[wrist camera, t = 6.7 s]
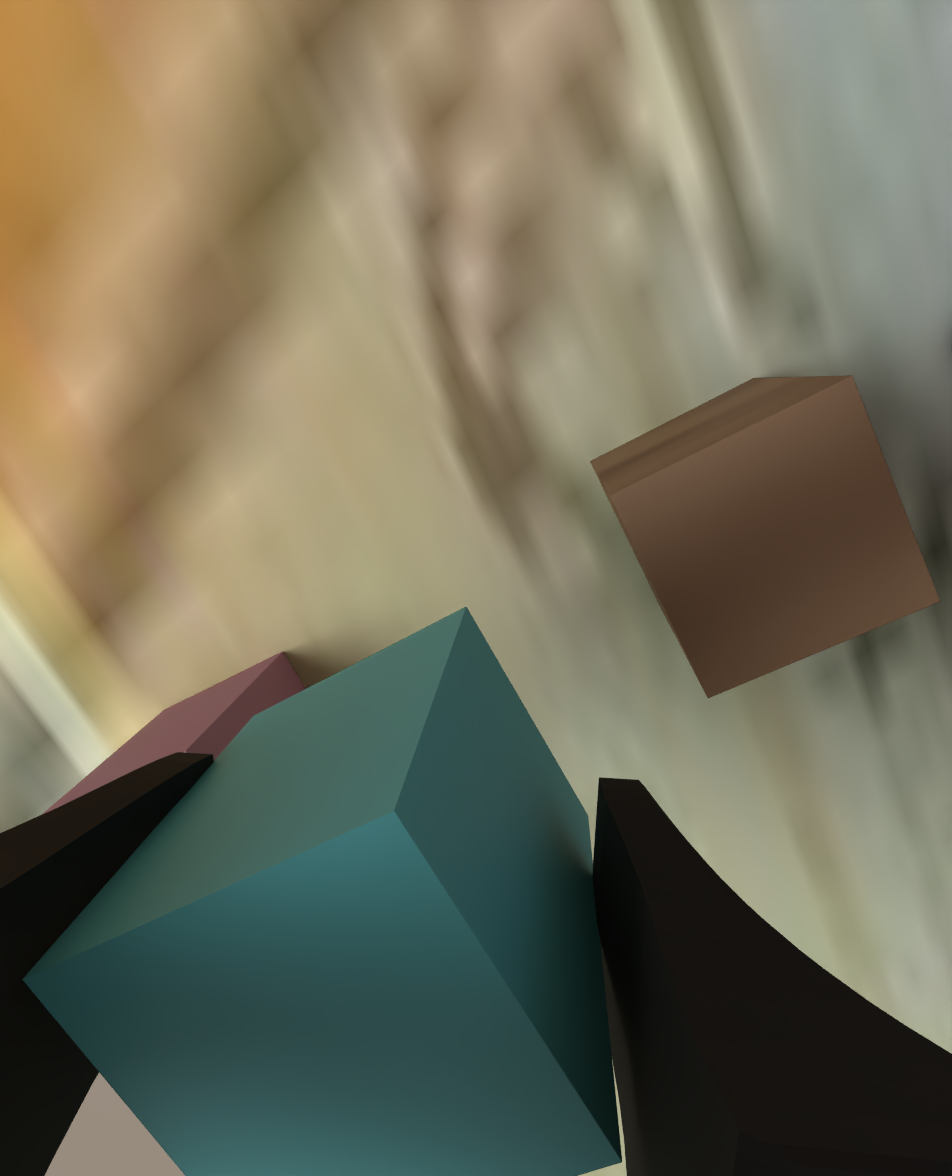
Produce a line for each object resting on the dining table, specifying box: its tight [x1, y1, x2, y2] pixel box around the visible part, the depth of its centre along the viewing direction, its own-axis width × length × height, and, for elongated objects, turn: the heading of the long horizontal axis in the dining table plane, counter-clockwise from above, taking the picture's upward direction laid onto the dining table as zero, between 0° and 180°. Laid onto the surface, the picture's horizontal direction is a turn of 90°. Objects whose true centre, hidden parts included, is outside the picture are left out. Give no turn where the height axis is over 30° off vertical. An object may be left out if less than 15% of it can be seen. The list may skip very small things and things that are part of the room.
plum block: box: [43, 652, 306, 814], centre depth 19 cm, size 4×4×6 cm
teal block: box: [22, 607, 622, 1176], centre depth 10 cm, size 4×4×6 cm
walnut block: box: [590, 376, 940, 698], centre depth 16 cm, size 4×4×6 cm
